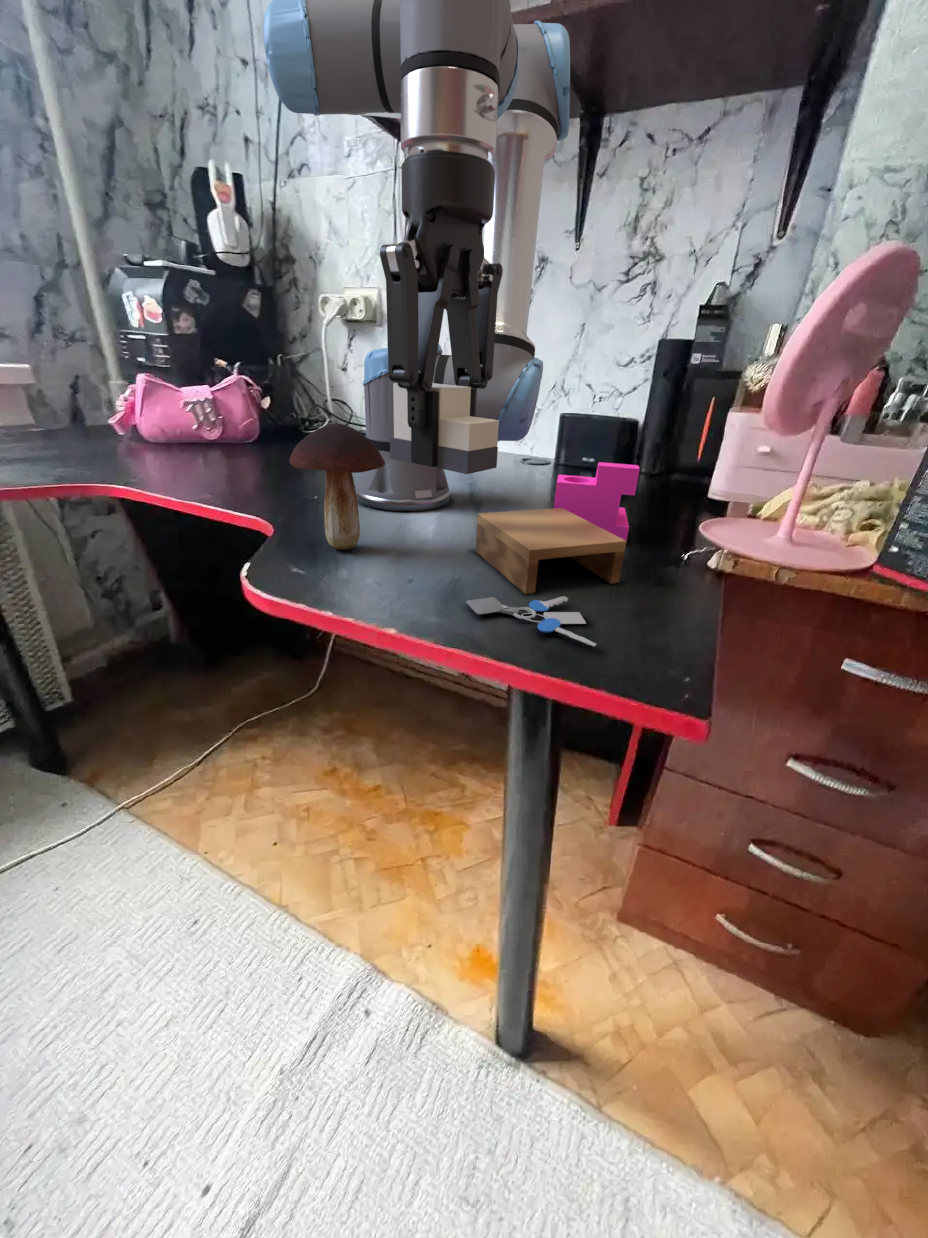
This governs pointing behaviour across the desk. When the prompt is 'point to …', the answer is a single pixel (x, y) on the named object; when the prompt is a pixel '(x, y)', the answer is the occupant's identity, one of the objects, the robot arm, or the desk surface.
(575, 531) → the oak shelf
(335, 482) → the decorative mushroom
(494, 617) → the desk surface
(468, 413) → the stepped grey-based block
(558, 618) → the key chain
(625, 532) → the bracket
